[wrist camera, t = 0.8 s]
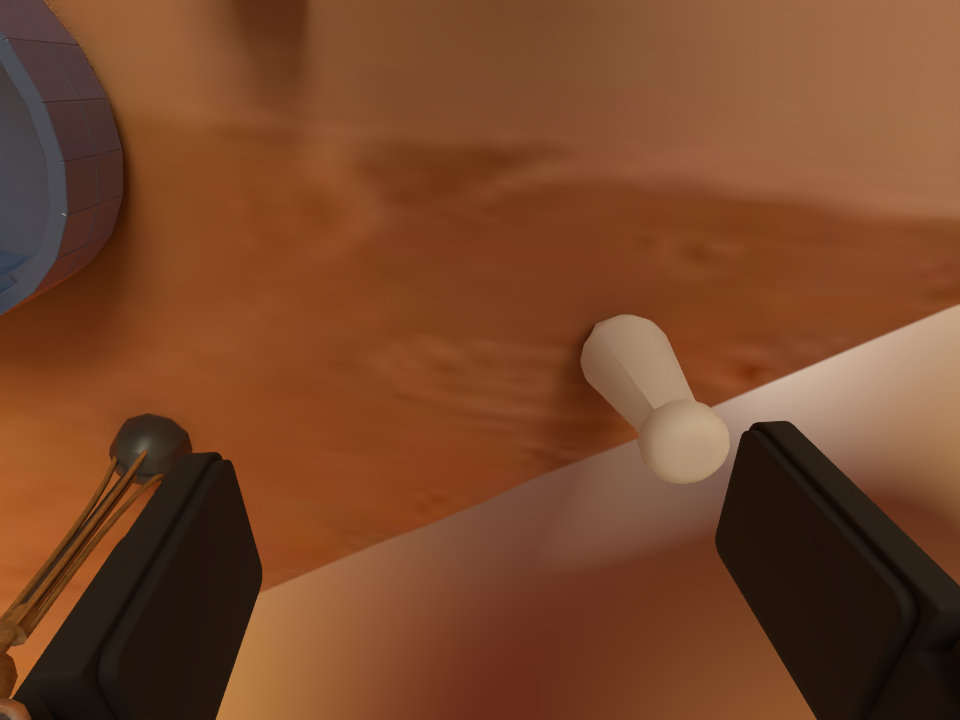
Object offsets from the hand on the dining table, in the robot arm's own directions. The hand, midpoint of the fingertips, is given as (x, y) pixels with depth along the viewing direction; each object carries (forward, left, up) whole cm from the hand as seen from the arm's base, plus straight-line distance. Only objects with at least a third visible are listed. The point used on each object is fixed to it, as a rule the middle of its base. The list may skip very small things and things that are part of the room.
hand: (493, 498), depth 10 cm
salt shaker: (+9, +11, -26) cm, 29 cm away
